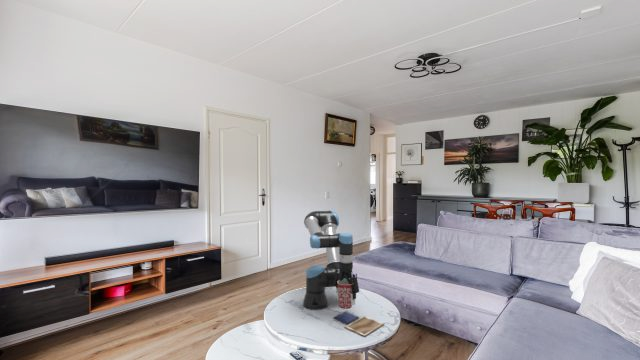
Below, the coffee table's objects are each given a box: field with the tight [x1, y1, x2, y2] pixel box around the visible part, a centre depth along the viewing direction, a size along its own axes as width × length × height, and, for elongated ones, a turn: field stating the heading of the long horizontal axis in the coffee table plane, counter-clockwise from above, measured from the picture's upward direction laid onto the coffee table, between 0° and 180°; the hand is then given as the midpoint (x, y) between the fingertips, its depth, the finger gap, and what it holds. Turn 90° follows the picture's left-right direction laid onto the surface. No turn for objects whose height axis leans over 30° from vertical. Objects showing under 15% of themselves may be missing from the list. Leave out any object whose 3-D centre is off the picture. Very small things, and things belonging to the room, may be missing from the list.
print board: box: [344, 315, 385, 338], centre depth 151 cm, size 13×17×1 cm
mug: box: [337, 279, 353, 310], centre depth 161 cm, size 13×9×14 cm
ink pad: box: [333, 311, 360, 326], centre depth 160 cm, size 10×10×1 cm
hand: (346, 302), depth 160 cm, fingers closed on mug, 9 cm apart
